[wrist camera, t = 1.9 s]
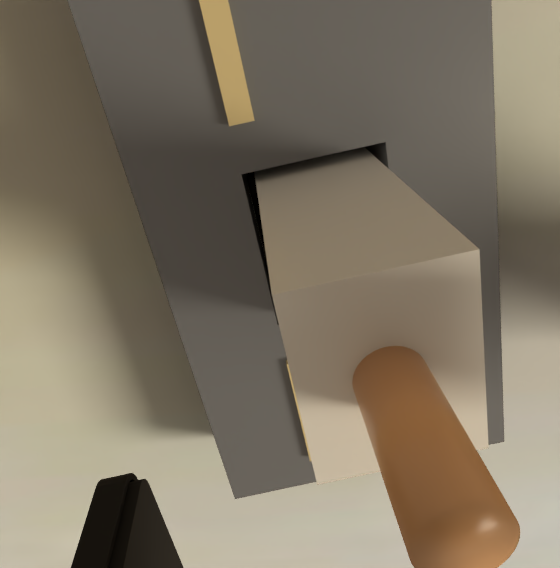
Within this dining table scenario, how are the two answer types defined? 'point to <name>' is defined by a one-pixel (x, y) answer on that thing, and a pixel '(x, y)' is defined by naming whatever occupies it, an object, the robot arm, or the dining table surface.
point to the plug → (387, 349)
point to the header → (279, 151)
